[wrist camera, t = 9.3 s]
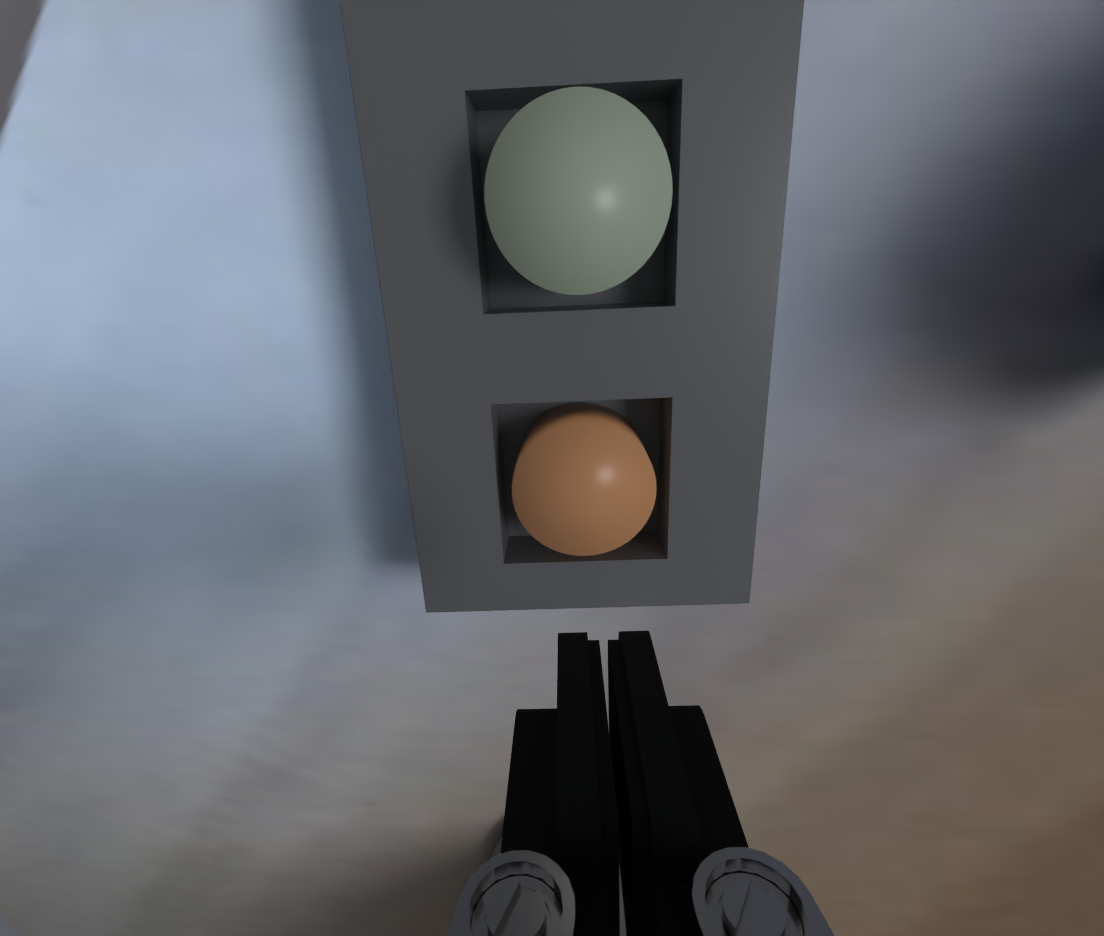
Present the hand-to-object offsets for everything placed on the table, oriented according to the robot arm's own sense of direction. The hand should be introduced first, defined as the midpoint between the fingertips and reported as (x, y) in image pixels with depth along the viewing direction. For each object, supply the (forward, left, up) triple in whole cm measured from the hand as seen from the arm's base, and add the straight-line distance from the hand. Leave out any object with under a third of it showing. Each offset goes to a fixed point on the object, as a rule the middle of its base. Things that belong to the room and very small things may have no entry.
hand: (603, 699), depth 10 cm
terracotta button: (+1, 0, -10) cm, 10 cm away
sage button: (+9, 0, -9) cm, 13 cm away
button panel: (+9, 0, -12) cm, 15 cm away
